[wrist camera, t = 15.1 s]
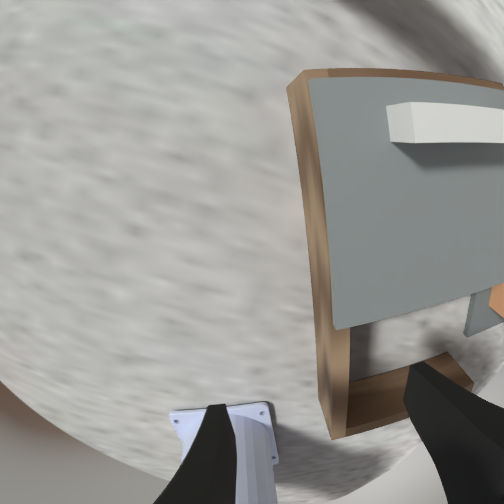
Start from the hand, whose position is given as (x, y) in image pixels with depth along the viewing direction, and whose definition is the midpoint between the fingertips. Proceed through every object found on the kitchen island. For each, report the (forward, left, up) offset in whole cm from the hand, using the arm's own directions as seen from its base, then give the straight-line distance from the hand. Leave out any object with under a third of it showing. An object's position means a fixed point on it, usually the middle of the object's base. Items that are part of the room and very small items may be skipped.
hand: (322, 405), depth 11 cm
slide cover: (+6, -8, -5) cm, 11 cm away
